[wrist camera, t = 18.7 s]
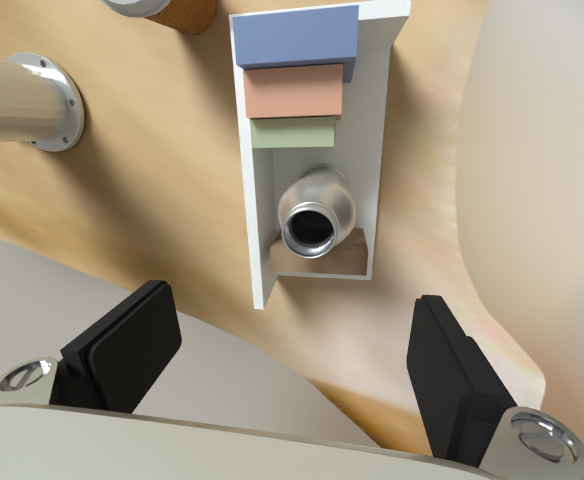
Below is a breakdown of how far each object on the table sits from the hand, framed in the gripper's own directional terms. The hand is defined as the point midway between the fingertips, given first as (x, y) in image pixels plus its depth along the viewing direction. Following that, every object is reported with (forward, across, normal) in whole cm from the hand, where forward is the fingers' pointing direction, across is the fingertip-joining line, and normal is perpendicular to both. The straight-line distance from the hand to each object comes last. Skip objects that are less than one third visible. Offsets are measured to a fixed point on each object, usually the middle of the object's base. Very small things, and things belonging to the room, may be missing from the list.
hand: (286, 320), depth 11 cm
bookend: (+28, 0, +7) cm, 29 cm away
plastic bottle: (+29, 0, 0) cm, 29 cm away
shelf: (+30, 0, -1) cm, 30 cm away
